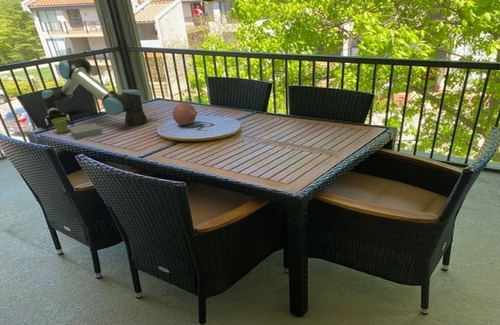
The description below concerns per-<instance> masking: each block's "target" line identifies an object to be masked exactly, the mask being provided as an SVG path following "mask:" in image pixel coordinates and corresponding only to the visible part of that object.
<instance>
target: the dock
mask: <svg viewBox="0 0 500 325" xmlns="http://www.w3.org/2000/svg"><path fill="white" fill-rule="evenodd" d="M69 130H70V134H71V135H72V137H73V138H74V140H75V141H76V140H81V139H85V138H91V137H96V136H99V135H102V130H101V127H100V126H99V125H98V124H97V123H95V122H94V123H91V124H86V125H79V126H75V127H69Z"/></svg>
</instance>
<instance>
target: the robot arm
mask: <svg viewBox="0 0 500 325" xmlns="http://www.w3.org/2000/svg"><path fill="white" fill-rule="evenodd" d="M57 71H58V73H59V75H60V77H61V78H62V79H63V80H67V81H65V83H64V84H63V85H62V87H60V89H57V90H53V89H45V90H42V92H41V95H42V99H43V102H44V107H45V111H46V114H47V115H43V117H41V118H40V119H39V121H40V123H41V124H44V125H45V124H46V125H47V126H48V125H49V122H50V121H52V120H53V119H56V118H63V117H65V118H67V121H68V122H69V121H71V120H70V119H71V118H73V113H70V112H65V111H64V112H62V113H61V112H60V110H59V109H58V106H57V102H59V101H60V102H61V101H63V100H68V99H71V98H72V97H73V95H74V94H73V92H74V91H75V90H76V89H77V87H78V86H80V85H81V86H82V87H83V88H84V89H86V90H87V92H90V94H93V95H94V96H95V97H96V98H97V99H99V100H100V101H101V104H102V107H103V109H104V111H105V112H106V113H107V114H109V115H112V116H116V115H121V114H123V113H125V116H124V123H125V125H126V126H140V125H144V124H145V123H147V122H148V118H147V116H146V115H147V114H146V113H145V112H144V109H143V102H142V97H141V96H142V95H141V92H140V90H138V89H122V91H121V93H120V94H119V93H117V91H114V90H109V89H108V88H107V87H106V86H104V85H103V84H102V83H101V82H99V81H98V80H97V79H95V78H94V77H93V76H91V75H90V74H91V72H92V65H91V63H90V61H89V60H88V59H86V58H82V57H77V58H71V59H64V60H61V61H59V63H58V66H57Z"/></svg>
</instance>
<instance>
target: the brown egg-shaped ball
mask: <svg viewBox="0 0 500 325" xmlns="http://www.w3.org/2000/svg"><path fill="white" fill-rule="evenodd" d="M197 116H198V112H197V110H196V109H195V107H194V106H193V105H192V104H190V103H188V102H180V103H177V104H176V105H175V106H174V108H173V110H172V118H173V120H174V121H175V123H176V124H178V125H179V124H180V125H179V126H182V125H187V126H189V125H188V124H190V125H191V124H193V123H194V121H195V120H196V118H197Z"/></svg>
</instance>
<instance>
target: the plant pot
mask: <svg viewBox="0 0 500 325" xmlns="http://www.w3.org/2000/svg"><path fill="white" fill-rule="evenodd" d="M67 121H68V119H67V118H65V117H63V118H56V119H53V120H51V123H52V124H53V126H54V128H55V129H56V132H57V133H58V134H63V133H65V134H66V133H68V131H69V129H68V123H67Z"/></svg>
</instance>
